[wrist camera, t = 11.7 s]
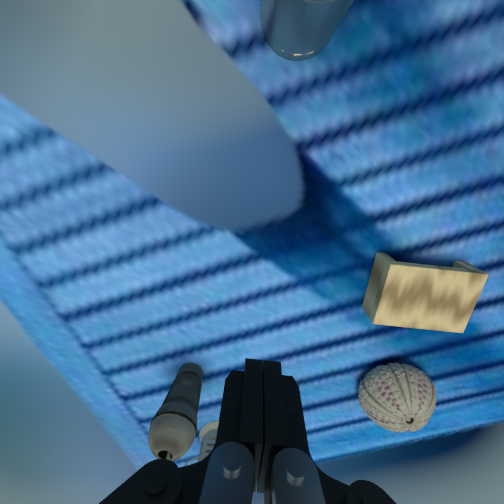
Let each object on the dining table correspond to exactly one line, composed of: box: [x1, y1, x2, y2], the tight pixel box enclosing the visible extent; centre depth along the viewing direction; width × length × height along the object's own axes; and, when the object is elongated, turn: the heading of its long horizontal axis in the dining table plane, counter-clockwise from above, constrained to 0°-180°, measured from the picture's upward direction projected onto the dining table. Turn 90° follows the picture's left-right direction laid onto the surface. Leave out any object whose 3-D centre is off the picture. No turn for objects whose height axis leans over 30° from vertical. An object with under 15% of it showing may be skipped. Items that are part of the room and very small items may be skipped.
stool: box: [362, 253, 489, 333], centre depth 43 cm, size 10×5×14 cm
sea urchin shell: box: [358, 362, 437, 433], centre depth 48 cm, size 13×14×8 cm
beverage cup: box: [148, 363, 203, 461], centre depth 43 cm, size 7×7×20 cm
